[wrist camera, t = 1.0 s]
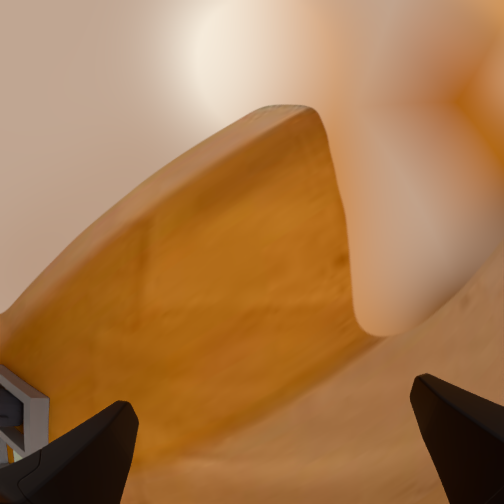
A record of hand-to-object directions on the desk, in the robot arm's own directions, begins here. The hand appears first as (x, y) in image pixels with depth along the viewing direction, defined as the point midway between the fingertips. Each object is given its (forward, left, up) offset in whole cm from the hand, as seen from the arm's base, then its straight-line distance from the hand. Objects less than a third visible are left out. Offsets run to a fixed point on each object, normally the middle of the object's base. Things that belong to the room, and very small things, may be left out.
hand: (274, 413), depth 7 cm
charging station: (-17, +28, -14) cm, 36 cm away
